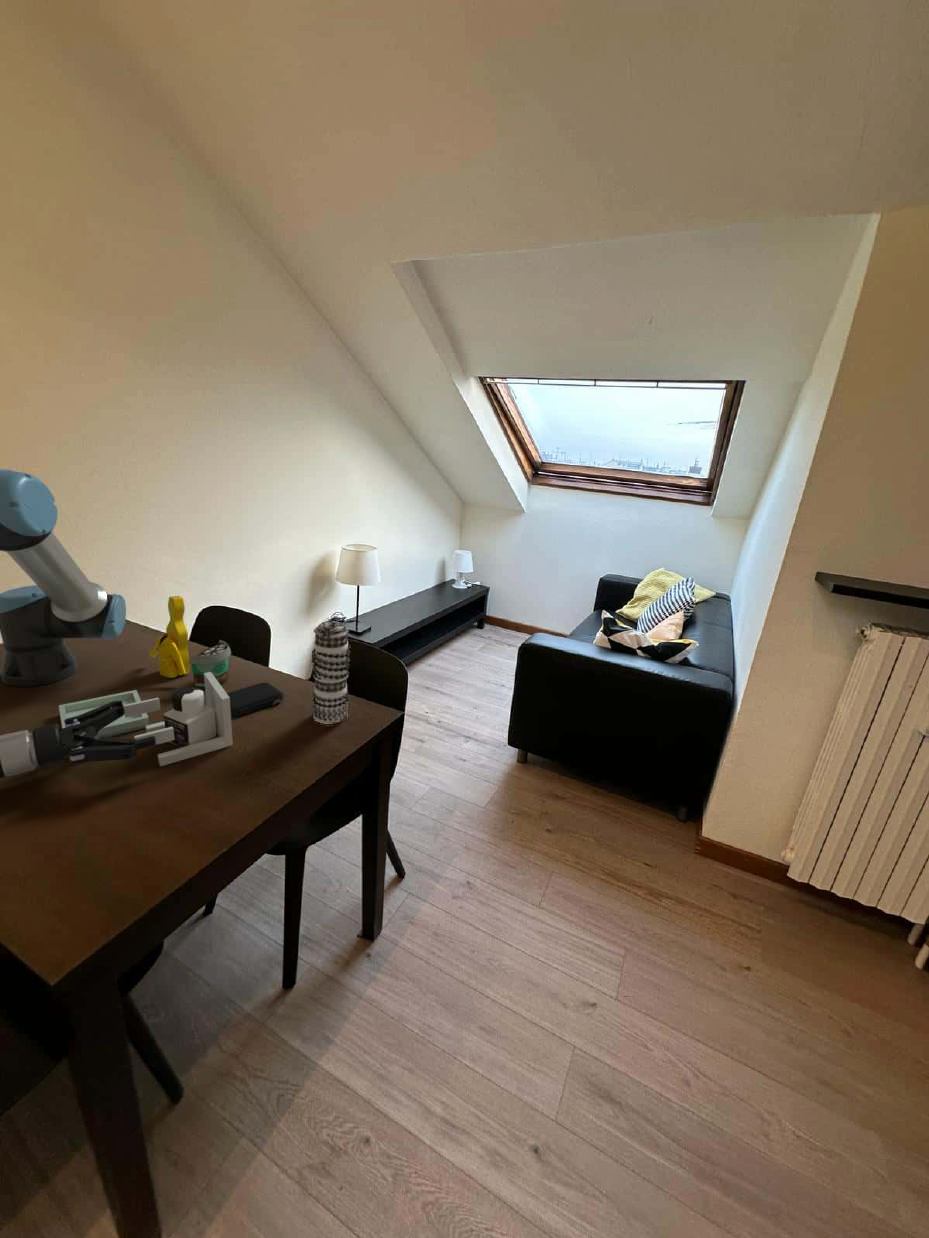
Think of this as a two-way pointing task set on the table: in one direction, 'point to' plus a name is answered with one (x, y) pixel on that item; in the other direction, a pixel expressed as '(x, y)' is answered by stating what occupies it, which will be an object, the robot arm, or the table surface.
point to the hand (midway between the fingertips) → (166, 717)
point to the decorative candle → (330, 672)
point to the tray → (123, 722)
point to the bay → (221, 706)
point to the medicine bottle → (190, 717)
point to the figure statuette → (173, 642)
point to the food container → (211, 664)
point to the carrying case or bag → (253, 698)
